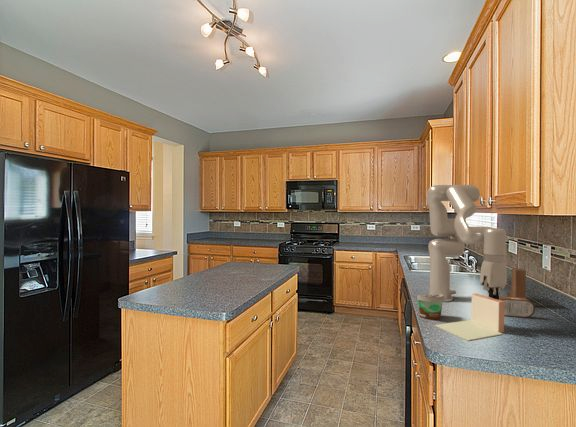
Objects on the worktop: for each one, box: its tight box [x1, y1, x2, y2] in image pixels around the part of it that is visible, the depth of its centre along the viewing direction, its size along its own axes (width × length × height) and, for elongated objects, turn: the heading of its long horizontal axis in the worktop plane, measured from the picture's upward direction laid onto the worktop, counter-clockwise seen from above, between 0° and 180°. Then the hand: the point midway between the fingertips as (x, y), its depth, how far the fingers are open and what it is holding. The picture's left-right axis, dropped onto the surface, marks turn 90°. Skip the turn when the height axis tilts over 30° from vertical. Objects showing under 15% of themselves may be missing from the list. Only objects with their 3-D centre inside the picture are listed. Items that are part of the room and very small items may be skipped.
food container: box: [416, 293, 444, 321], centre depth 135 cm, size 12×6×10 cm, turn 105°
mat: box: [434, 319, 503, 342], centre depth 122 cm, size 18×15×1 cm
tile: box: [470, 292, 505, 334], centre depth 125 cm, size 3×12×12 cm, turn 20°
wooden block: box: [506, 268, 527, 298], centre depth 156 cm, size 9×4×18 cm, turn 166°
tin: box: [499, 295, 536, 319], centre depth 138 cm, size 15×3×8 cm, turn 75°
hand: (493, 303), depth 126 cm, fingers closed
